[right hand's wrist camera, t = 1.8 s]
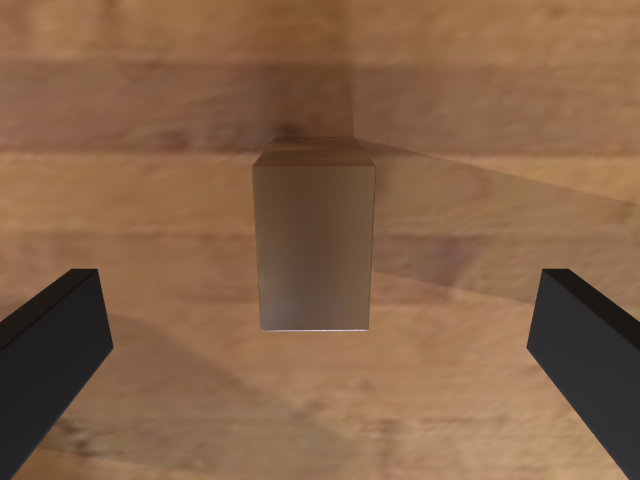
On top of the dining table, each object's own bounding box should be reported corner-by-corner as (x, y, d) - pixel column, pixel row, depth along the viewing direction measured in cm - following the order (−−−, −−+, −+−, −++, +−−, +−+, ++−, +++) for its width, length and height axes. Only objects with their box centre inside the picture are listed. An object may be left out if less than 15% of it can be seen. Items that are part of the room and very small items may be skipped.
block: (354, 137, 25) (376, 166, 16) (351, 251, 27) (368, 331, 18) (274, 137, 25) (251, 166, 16) (278, 252, 27) (260, 331, 18)
